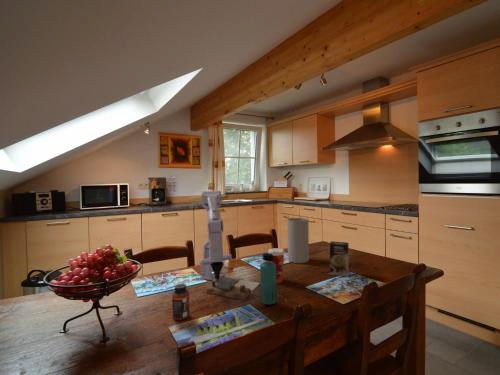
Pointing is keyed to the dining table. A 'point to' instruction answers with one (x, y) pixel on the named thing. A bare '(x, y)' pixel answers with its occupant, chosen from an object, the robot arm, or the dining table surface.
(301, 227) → the cylinder vase
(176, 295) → the supplement bottle
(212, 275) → the latch bar
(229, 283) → the lever cap
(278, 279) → the coffee cup
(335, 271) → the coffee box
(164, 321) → the dining table surface
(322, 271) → the dining table surface
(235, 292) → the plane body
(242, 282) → the rubber pad
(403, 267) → the dining table surface
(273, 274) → the beverage bottle
